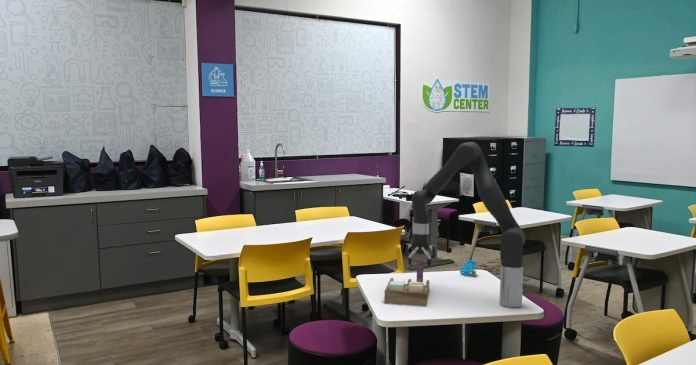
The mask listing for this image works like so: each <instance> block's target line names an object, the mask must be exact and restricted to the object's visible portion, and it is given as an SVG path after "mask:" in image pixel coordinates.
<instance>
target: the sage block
mask: <svg viewBox="0 0 696 365" xmlns="http://www.w3.org/2000/svg"><path fill="white" fill-rule="evenodd" d="M404 284H406V283H405V281H401V280H400V281H399V280H393V281H391V282H390V284H389V290H393V291H404Z"/></svg>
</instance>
